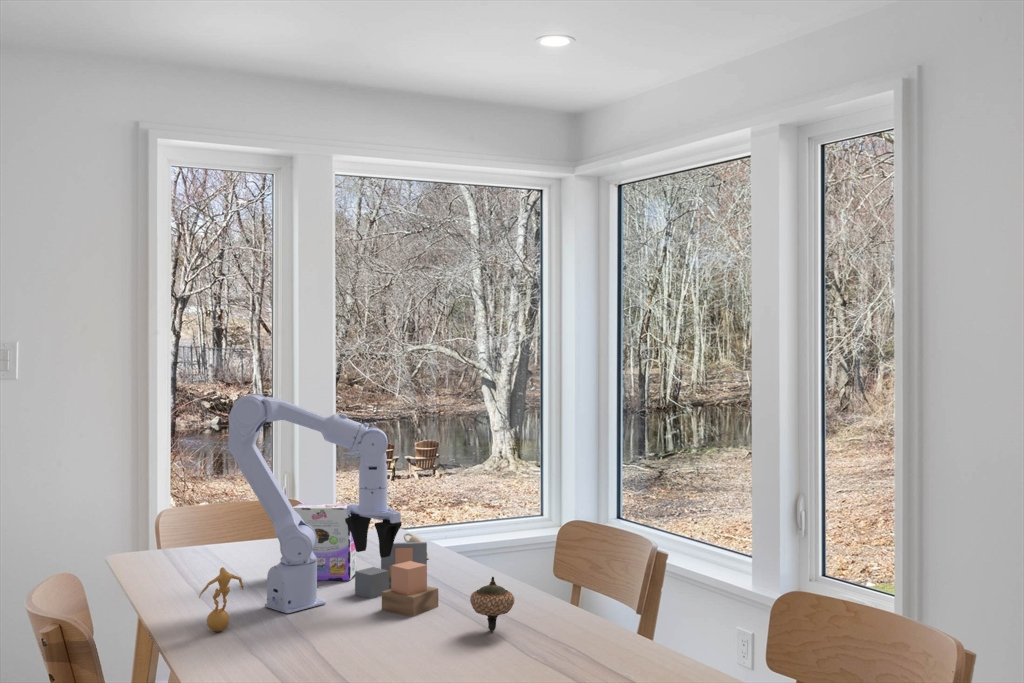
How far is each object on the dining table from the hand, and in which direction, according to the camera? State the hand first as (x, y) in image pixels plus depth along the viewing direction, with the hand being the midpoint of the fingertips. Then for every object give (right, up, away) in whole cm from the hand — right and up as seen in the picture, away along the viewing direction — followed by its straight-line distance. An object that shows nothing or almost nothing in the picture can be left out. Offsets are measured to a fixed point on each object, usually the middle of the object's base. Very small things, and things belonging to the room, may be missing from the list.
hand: (373, 553), depth 183 cm
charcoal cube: (-1, -10, +6) cm, 12 cm away
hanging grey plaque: (+5, -10, +14) cm, 18 cm away
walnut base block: (+8, -10, -4) cm, 14 cm away
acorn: (+25, -10, -19) cm, 33 cm away
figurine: (-25, -10, -20) cm, 33 cm away
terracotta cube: (+8, -6, -4) cm, 11 cm away
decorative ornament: (+5, -11, +40) cm, 42 cm away
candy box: (-14, -10, +20) cm, 27 cm away
